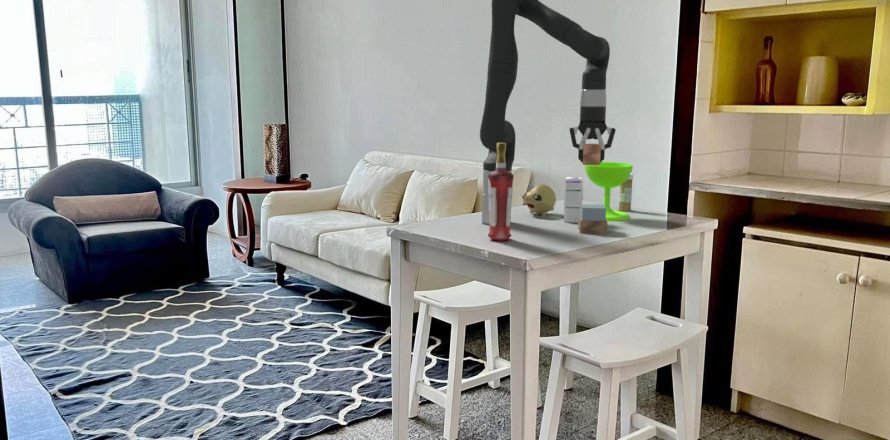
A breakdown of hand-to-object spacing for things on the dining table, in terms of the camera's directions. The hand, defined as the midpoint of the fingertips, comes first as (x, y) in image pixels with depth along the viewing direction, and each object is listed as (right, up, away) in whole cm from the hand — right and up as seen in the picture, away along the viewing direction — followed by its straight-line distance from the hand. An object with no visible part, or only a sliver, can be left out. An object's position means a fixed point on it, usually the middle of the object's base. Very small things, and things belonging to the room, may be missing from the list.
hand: (591, 161), depth 220 cm
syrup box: (-2, -18, +21) cm, 28 cm away
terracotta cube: (0, -1, 0) cm, 1 cm away
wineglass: (+11, -17, +30) cm, 36 cm away
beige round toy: (-12, -16, +33) cm, 39 cm away
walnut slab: (+1, -21, +5) cm, 22 cm away
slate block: (+1, -17, +5) cm, 18 cm away
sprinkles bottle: (+21, -14, +43) cm, 50 cm away
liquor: (-28, -24, -8) cm, 38 cm away
